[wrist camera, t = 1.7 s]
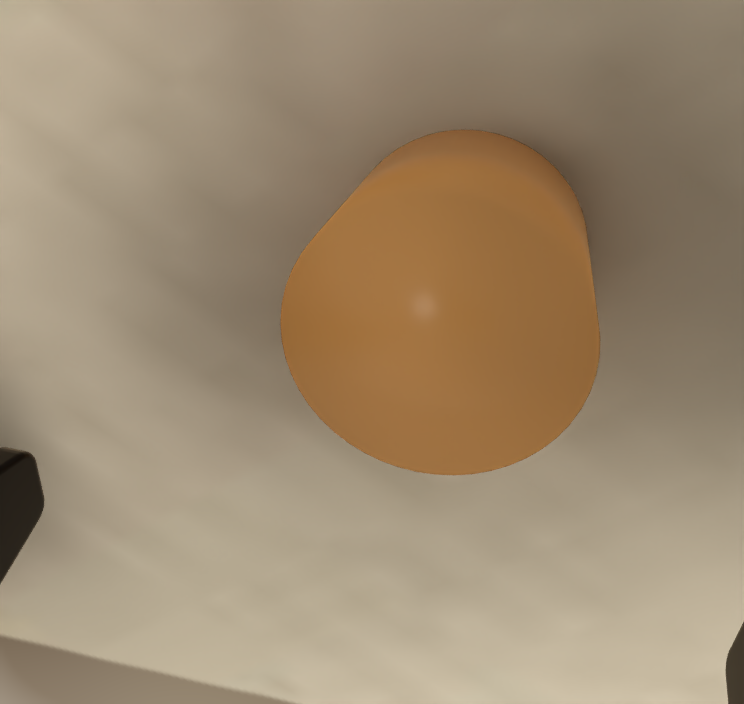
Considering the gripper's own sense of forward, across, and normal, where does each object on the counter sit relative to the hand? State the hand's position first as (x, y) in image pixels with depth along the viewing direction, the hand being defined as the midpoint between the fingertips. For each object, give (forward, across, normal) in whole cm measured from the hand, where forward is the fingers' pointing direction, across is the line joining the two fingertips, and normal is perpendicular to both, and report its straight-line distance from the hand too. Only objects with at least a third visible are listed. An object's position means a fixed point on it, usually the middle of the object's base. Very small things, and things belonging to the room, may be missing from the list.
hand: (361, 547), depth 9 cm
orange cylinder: (+10, 0, 0) cm, 10 cm away
